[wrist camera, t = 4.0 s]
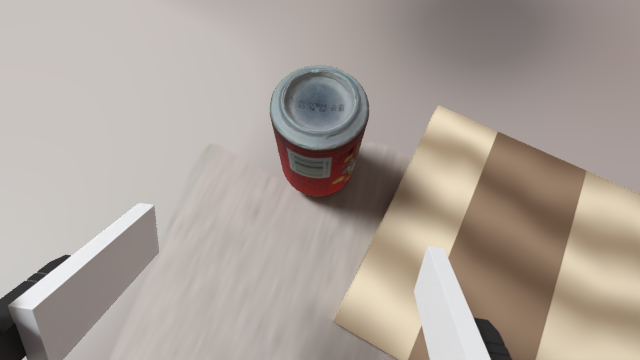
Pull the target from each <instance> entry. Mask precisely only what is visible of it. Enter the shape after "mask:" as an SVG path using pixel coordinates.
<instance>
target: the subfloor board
mask: <svg viewBox="0 0 640 360" xmlns="http://www.w3.org/2000/svg"><path fill="white" fill-rule="evenodd" d="M427 246H432V247H439V248H444V250H445V252H446V255H447V257H448V259H449V262H450V264H451V266H452V269H453V271H454V273H455V276H456V278H457V281H458V283H459V285H460V288H461V290H462V292H463V295H464V297H465V300H466V302H467V304H468V307H469V309H470V311H471V314H472V316H473V318H480V319H486V320H489V321H490V323H491V324H492V325H493V326H494V327H495V328H496V329H497V330H498V331H499V333H500V335H501V337H502V339H503V341H504V343H505V347H507V349H508V351H509V353H510V358H512V360H640V194H638V193H636V192H633V191H631V190H629V189H627V188H625V187H622V186H620V185H618V184H616V183H613V182H611V181H609V180H606V179H604V178H602V177H600V176H597V175H595V174H593V173H590V172H588V171H586V170H584V169H581V168H579V167H577V166H575V165H573V164H570V163H568V162H566V161H563V160H561V159H559V158H557V157H554V156H552V155H550V154H547V153H545V152H543V151H541V150H539V149H536V148H534V147H532V146H530V145H527V144H525V143H523V142H520V141H518V140H516V139H514V138H511V137H509V136H507V135H504V134H502V133H500V132H498V131H496V130H493V129H491V128H489V127H487V126H484V125H482V124H480V123H477V122H475V121H473V120H471V119H468V118H466V117H464V116H462V115H459V114H457V113H455V112H453V111H450V110H448V109H446V108H444V107H441V106H438V107H437V109H436V111H435V112H434V114H433V116H432V118H431V120H430V122H429V124H428V126H427V129H426V131H425V133H424V135H423V137H422V139H421V141H420V143H419V145H418V147H417V149H416V151H415V153H414V155H413V157H412V159H411V161H410V163H409V165H408V168H407V170H406V172H405V174H404V176H403V178H402V180H401V182H400V184H399V186H398V188H397V190H396V192H395V194H394V196H393V198H392V200H391V203H390V205H389V207H388V209H387V211H386V213H385V215H384V217H383V219H382V221H381V223H380V225H379V227H378V229H377V231H376V233H375V236H374V238H373V240H372V242H371V244H370V246H369V248H368V250H367V252H366V254H365V256H364V258H363V260H362V262H361V264H360V266H359V268H358V271H357V273H356V275H355V277H354V279H353V281H352V283H351V285H350V287H349V289H348V291H347V293H346V295H345V297H344V299H343V301H342V304H341V306H340V308H339V310H338V312H337V314H336V316H335V318H334V320H333V322H335V323H337V324H338V325H340V326H342V327H343V328H345V329H347V330H349V331H350V332H352V333H354V334H355V335H357V336H359V337H361V338H362V339H364V340H366V341H367V342H369V343H371V344H372V345H374V346H376V347H378V348H379V349H381V350H383V351H384V352H386V353H388V354H390V355H391V356H393V357H395V358H396V359H398V360H430V358H429V354H428V350H427V345H426V341H425V337H424V333H423V328H422V324H421V320H420V316H419V311H418V307H417V303H416V299H415V294H414V289H415V285H416V282H417V279H418V275H419V272H420V269H421V265H422V262H423V259H424V255H425V252H426V248H427Z"/></svg>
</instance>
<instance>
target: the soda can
mask: <svg viewBox="0 0 640 360" xmlns="http://www.w3.org/2000/svg"><path fill="white" fill-rule="evenodd" d="M270 116H271V121H272V125H273V129H274V134H275V138H276V142H277V146H278V152H279V155H280V159H281V164H282V168H283V172H284V174H285V177H286V178H287V180H288V181H289V182H290V184H291V185H292V186H293V187H294V188H295V189H296V190H298V191H300V192H302V193H304V194H308V195H311V196H325V195H330V194H332V193H334V192H337V191H338V190H340V189H341V188H343V187H344V186H345V185H346V184H347V182H348V181H349V179H350V178H351V176H352V173H353V170H354V167H355V163H356V159H357V156H358V153H359V149H360V146H361V142H362V138H363V135H364V131H365V128H366V125H367V121H368V117H369V103H368V99H367V95H366V93H365V92H364V89H363V87H362V86H361V85H360V84H359V83H358V82H357V80H356V79H354V78H353V77H352V76H351V75H349V74H348V73H345V72H344V71H342V70H340V69H337V68H334V67H331V66H326V65H315V66H307V67H304V68H301V69H298V70H296V71H294V72H292V73H290V74H289V75H288V76H286V77H285V78H284V79H283V80H281V82H280V83H279V84H278V86H277V87H276V88H275V90H274V92H273V95H272V98H271V103H270Z"/></svg>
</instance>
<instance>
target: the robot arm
mask: <svg viewBox="0 0 640 360" xmlns="http://www.w3.org/2000/svg"><path fill="white" fill-rule="evenodd" d="M158 253H159V246H158V237H157V227H156V218H155V208H154V205H149V204H142V203H138V204H137V205H136V206H134V207H133V208H132V209H130V210H129V211H128V212H127V213H125V214H124V215H123V216H122V217H120V218H119V219H118V220H116V221H115V222H114V223H113V224H112V225H110V226H109V227H108V228H106V229H105V230H104V231H102V232H101V233H100V234H99V235H97V236H96V237H95V238H94V239H92V240H91V241H90V242H88V243H87V244H86V245H85V246H83V247H82V248H81V249H80V250H78V251H77V252H76V253H74V254H73V255H72V256H70V255H64V256H62V257H60V258H58V259H55V260H53V261H51V262H49V263H48V264H47V265H45V266H44V267H43V268H41V269H40V270H39V271H38V272H37V273H35V274H33V275H32V276H31V277H30V278H28V279H27V281H24V282H23V283H21V284H20V285H19V286H17V287H16V288H15V289H13V290H12V291H11V292H9V293H8V294H7V295H5V296H4V297H3V298H1V299H0V360H22V359H23V358H24V357H25V356H26V357H27V360H63V359H64V358H65V357H66V356H67V355H68V353H69V352H70V351H71V350H72V349H73V348H74V347H75V346H76V344H77V343H78V342H79V341H80V340H81V339H82V338H83V337H84V336H85V334H86V333H87V332H88V331H89V330H90V329H91V328H92V327H93V325H94V324H95V323H96V322H97V321H98V320H99V319H100V318H101V316H102V315H103V314H104V313H105V312H106V311H107V310H108V309H109V308H110V306H111V305H112V304H113V303H114V302H115V301H116V300H117V298H118V297H119V296H120V295H121V294H122V293H123V292H124V291H125V290H126V288H127V287H128V286H129V285H130V284H131V283H132V282H133V281H134V279H135V278H136V277H137V276H138V275H139V274H140V273H141V272H142V270H143V269H144V268H145V267H146V266H147V265H148V264H149V263H150V262H151V261H152V259H153V258H154V257H155V256H156V255H157V254H158ZM414 294H415V299H416V303H417V307H418V311H419V316H420V320H421V324H422V328H423V333H424V337H425V341H426V345H427V350H428V354H429V358H430V360H512V358H510V353H509V351H508V349H507V347H505V343H504V341H503V339H502V337H501V335H500V333H499V331H498V330H497V329H496V328H495V327H494V326H493V325H492V324H491V323H490V321H489V320H486V319H480V318H473V316H472V314H471V311H470V309H469V307H468V304H467V302H466V300H465V297H464V295H463V292H462V290H461V288H460V285H459V283H458V281H457V278H456V276H455V273H454V271H453V269H452V266H451V264H450V262H449V259H448V257H447V255H446V252H445V250H444V248H439V247H432V246H427V248H426V252H425V255H424V259H423V262H422V265H421V269H420V272H419V275H418V279H417V282H416V285H415V289H414Z"/></svg>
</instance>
